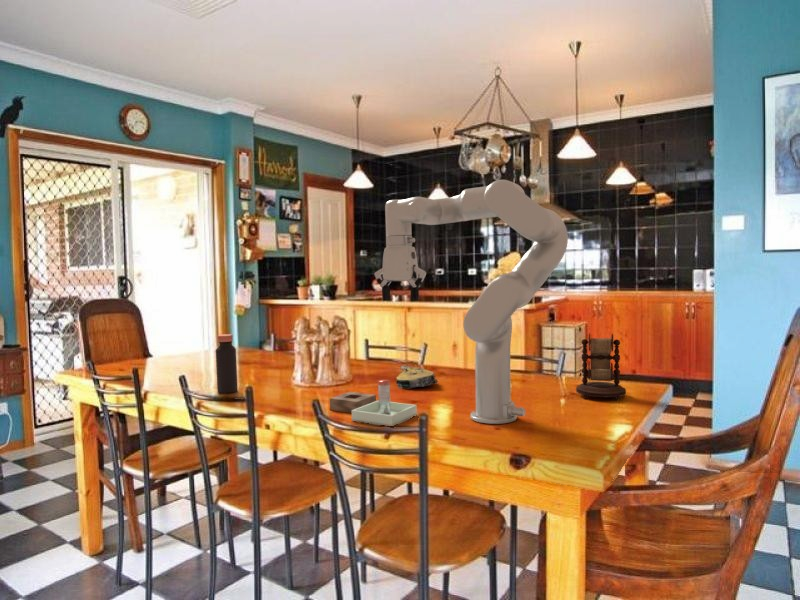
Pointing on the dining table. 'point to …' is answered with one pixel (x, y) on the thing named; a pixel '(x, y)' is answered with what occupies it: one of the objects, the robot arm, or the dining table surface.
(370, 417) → the tray
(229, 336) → the bottle
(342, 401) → the block
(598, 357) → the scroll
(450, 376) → the dining table surface
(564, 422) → the dining table surface
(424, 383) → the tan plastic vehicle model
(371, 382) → the dining table surface
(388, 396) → the pin
